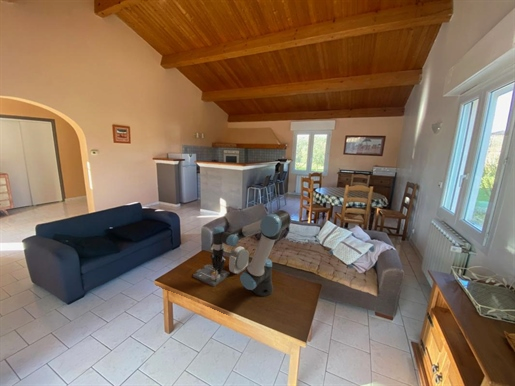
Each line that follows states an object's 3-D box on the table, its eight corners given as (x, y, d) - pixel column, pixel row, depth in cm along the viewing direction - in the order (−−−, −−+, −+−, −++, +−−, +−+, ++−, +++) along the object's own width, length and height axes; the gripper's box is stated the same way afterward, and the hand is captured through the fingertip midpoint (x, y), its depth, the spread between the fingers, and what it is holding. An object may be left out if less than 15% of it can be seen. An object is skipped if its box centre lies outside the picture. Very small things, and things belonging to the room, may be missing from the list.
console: (229, 274, 171) (229, 270, 171) (214, 286, 156) (214, 282, 156) (209, 266, 182) (209, 262, 181) (193, 276, 167) (193, 272, 166)
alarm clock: (241, 264, 187) (242, 242, 183) (249, 267, 183) (250, 245, 178) (227, 273, 173) (227, 250, 169) (235, 277, 168) (236, 253, 164)
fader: (218, 277, 163) (218, 272, 162) (214, 280, 159) (214, 274, 158) (215, 276, 164) (215, 271, 163) (211, 279, 161) (211, 273, 160)
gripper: (228, 248, 155) (228, 278, 160) (214, 243, 162) (214, 272, 166) (221, 252, 149) (221, 283, 154) (207, 247, 155) (207, 277, 160)
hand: (217, 277), depth 160 cm, fingers closed
